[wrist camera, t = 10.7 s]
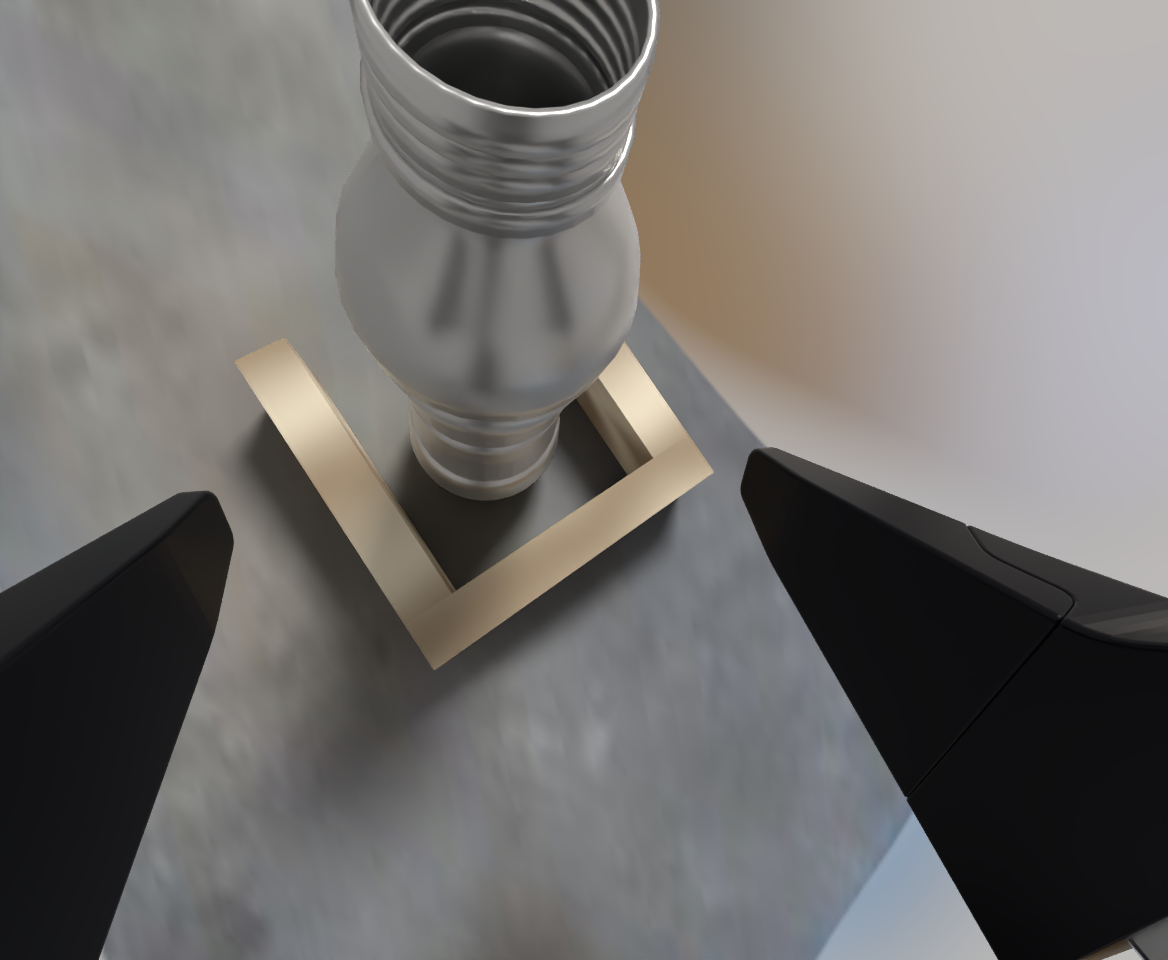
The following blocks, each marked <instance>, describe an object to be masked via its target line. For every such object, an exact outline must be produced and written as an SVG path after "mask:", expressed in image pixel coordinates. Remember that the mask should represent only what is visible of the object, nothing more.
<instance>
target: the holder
mask: <svg viewBox="0 0 1168 960" xmlns="http://www.w3.org/2000/svg"><path fill="white" fill-rule="evenodd" d="M234 362H235V363H236V365H237V366H238V368H239V369H240V371H241V373H242V374H243V376H244V377H245V379H246V380H247V382H248V383H249V385H250V387H251V388H252V390H253V391H254V393H255V394H256V396H257V397H258V399H259V400H260V402H261V404H262V405H263V407H264V408H265V410H266V411H267V413H268V414H269V416H270V417H271V419H272V421H273V422H274V424H275V425H276V427H277V428H278V430H279V431H280V433H281V435H282V436H283V438H284V439H285V441H286V442H287V444H288V445H289V447H290V448H291V450H292V452H293V453H294V455H295V456H296V458H297V459H298V461H299V462H300V464H301V466H302V467H303V469H304V470H305V472H306V473H307V475H308V476H309V478H310V479H311V481H312V483H313V484H314V486H315V487H316V489H317V490H318V492H319V493H320V495H321V496H322V498H323V500H324V501H325V503H326V504H327V506H328V507H329V509H330V510H331V512H332V514H333V515H334V517H335V518H336V520H337V521H338V523H339V524H340V526H341V527H342V529H343V531H344V532H345V534H346V535H347V537H348V538H349V540H350V541H351V543H352V544H353V546H354V548H355V549H356V551H357V552H358V554H359V555H360V557H361V558H362V560H363V562H364V563H365V565H366V566H367V568H368V569H369V571H370V572H371V574H372V575H373V577H374V579H375V580H376V582H377V583H378V585H379V586H380V588H381V589H382V591H383V593H384V594H385V596H386V597H387V599H388V600H389V602H390V603H391V605H392V606H393V608H394V610H395V611H396V613H397V614H398V616H399V617H400V619H401V620H402V622H403V623H404V625H405V627H406V628H407V630H408V631H409V633H410V634H411V636H412V637H413V639H414V641H415V642H416V644H417V645H418V647H419V648H420V650H421V651H422V653H423V654H424V656H425V658H426V659H427V661H428V662H429V664H430V665H431V667H432V668H433V670H436V669H437V668H439V667H440V666H442V665H443V664H444V663H446V662H447V661H449V660H450V659H451V658H453V657H454V656H456V655H457V654H458V653H460V652H461V651H463V650H464V649H465V648H467V647H468V646H470V645H471V644H472V643H474V642H475V641H477V640H478V639H480V638H481V637H482V636H484V635H485V634H487V633H488V632H489V631H491V630H492V629H494V628H495V627H496V626H498V625H499V624H501V623H502V622H503V621H505V620H506V619H508V618H509V617H511V616H512V615H513V614H515V613H516V612H518V611H519V610H520V609H522V608H523V607H525V606H526V605H527V604H529V603H530V602H532V601H533V600H534V599H536V598H537V597H539V596H540V595H542V594H543V593H544V592H546V591H547V590H549V589H550V588H551V587H553V586H554V585H556V584H557V583H558V582H560V581H561V580H563V579H564V578H565V577H567V576H568V575H570V574H571V573H572V572H574V571H575V570H577V569H578V568H580V567H581V566H582V565H584V564H585V563H587V562H588V561H589V560H591V559H592V558H594V557H595V556H596V555H598V554H599V553H601V552H602V551H603V550H605V549H606V548H608V547H609V546H611V545H612V544H613V543H615V542H616V541H618V540H619V539H620V538H622V537H623V536H625V535H626V534H627V533H629V532H630V531H632V530H633V529H634V528H636V527H637V526H639V525H640V524H642V523H643V522H644V521H646V520H647V519H649V518H650V517H651V516H653V515H654V514H656V513H657V512H658V511H660V510H661V509H663V508H664V507H665V506H667V505H668V504H670V503H671V502H672V501H674V500H675V499H677V498H678V497H680V496H681V495H682V494H684V493H685V492H687V491H688V490H689V489H691V488H692V487H694V486H695V485H696V484H698V483H699V482H701V481H702V480H703V479H705V478H706V477H708V476H709V475H711V474H712V473H713V472H714V471H713V470H712V469H711V467H710V466H709V464H708V463H707V461H706V460H705V458H704V457H703V455H702V454H701V453H700V451H699V450H698V448H697V447H696V445H695V444H694V442H693V441H692V439H691V438H690V437H689V435H688V434H687V432H686V431H685V429H684V428H683V426H682V425H681V423H680V422H679V421H678V419H677V418H676V416H675V415H674V413H673V412H672V410H671V409H670V407H669V406H668V405H667V403H666V402H665V400H664V399H663V397H662V396H661V394H660V393H659V391H658V390H657V389H656V387H655V386H654V384H653V383H652V381H651V380H650V378H649V377H648V375H647V374H646V373H645V371H644V370H643V368H642V367H641V365H640V364H639V362H638V361H637V359H636V358H635V357H634V355H633V354H632V352H631V351H630V349H629V348H628V346H627V345H626V343H625V342H624V343H623V345H622V346H621V348H620V350H619V352H618V354H617V355H616V357H615V358H614V359H613V360H612V361H611V362H610V364H609V365H608V366H607V367H606V369H605V370H604V371H603V372H602V373H601V374H600V376H599V377H598V378H597V379H596V380H595V381H594V382H593V384H592V385H591V386H590V387H589V388H588V389H587V390H586V391H584V392H583V393H582V394H580V395H579V396H578V397H577V398H576V400H577V401H578V403H579V404H580V406H581V407H582V409H583V410H584V412H585V413H586V415H587V416H588V418H589V419H590V421H591V422H592V424H593V425H594V426H595V428H596V429H597V431H598V432H599V434H600V435H601V437H602V438H603V440H604V441H605V443H606V444H607V446H608V447H609V449H610V450H611V452H612V453H613V454H614V456H615V457H616V459H617V460H618V462H619V463H620V465H621V466H622V468H623V469H624V471H625V472H626V474H627V475H628V476H626V477H625V478H623V479H622V480H620V481H619V482H617V483H616V484H614V485H613V486H611V487H610V488H608V489H607V490H605V491H604V492H602V493H601V494H599V495H598V496H596V497H595V498H593V499H592V500H590V501H589V502H587V503H586V504H584V505H583V506H582V507H580V508H579V509H577V510H576V511H574V512H573V513H571V514H570V515H568V516H567V517H565V518H564V519H562V520H561V521H559V522H558V523H556V524H555V525H553V526H552V527H550V528H549V529H547V530H546V531H544V532H543V533H541V534H540V535H538V536H537V537H535V538H534V539H532V540H531V541H529V542H528V543H526V544H525V545H523V546H522V547H521V548H519V549H518V550H516V551H515V552H513V553H512V554H510V555H509V556H507V557H506V558H504V559H503V560H501V561H500V562H498V563H497V564H495V565H494V566H492V567H491V568H489V569H488V570H486V571H485V572H483V573H482V574H480V575H479V576H477V577H476V578H474V579H473V580H471V581H470V582H468V583H467V584H465V585H464V586H462V587H461V588H460V589H458V590H457V591H456V590H455V588H454V587H453V585H452V584H451V582H450V581H449V579H448V578H447V576H446V574H445V573H444V571H443V570H442V568H441V567H440V565H439V564H438V562H437V561H436V559H435V558H434V556H433V555H432V553H431V551H430V550H429V548H428V547H427V545H426V544H425V542H424V541H423V539H422V538H421V536H420V535H419V533H418V532H417V530H416V529H415V527H414V525H413V524H412V522H411V521H410V519H409V518H408V516H407V515H406V513H405V512H404V510H403V509H402V507H401V506H400V504H399V503H398V501H397V499H396V498H395V496H394V495H393V493H392V492H391V490H390V489H389V487H388V486H387V484H386V483H385V481H384V480H383V478H382V476H381V475H380V473H379V472H378V470H377V469H376V467H375V466H374V464H373V463H372V461H371V460H370V458H369V457H368V455H367V454H366V452H365V450H364V449H363V447H362V446H361V444H360V443H359V441H358V440H357V438H356V437H355V435H354V434H353V432H352V431H351V429H350V427H349V426H348V424H347V423H346V421H345V420H344V418H343V417H342V415H341V414H340V412H339V411H338V409H337V408H336V406H335V405H334V403H333V401H332V400H331V398H330V397H329V395H328V394H327V392H326V391H325V389H324V388H323V386H322V385H321V383H320V382H319V380H318V378H317V377H316V375H315V374H314V373H313V372H312V371H311V369H310V368H309V367H308V366H307V364H306V363H305V362H304V361H303V359H302V358H301V357H300V356H299V355H298V353H297V352H296V351H295V350H294V348H293V347H292V346H291V345H290V344H289V342H288V341H287V340H286V339H285V337H284V338H282V339H280V340H277V341H275V342H273V343H271V344H269V345H267V346H265V347H263V348H261V349H258V350H256V351H254V352H252V353H250V354H248V355H246V356H244V357H242V358H240V359H237V360H235V361H234Z"/></svg>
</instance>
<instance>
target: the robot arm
mask: <svg viewBox="0 0 1168 960" xmlns="http://www.w3.org/2000/svg"><path fill="white" fill-rule="evenodd" d="M741 496H742V499H743V501H744V503H745V506H746V508H747V510H748V513H749V515H750V517H751V519H752V522H753V524H754V526H755V529H756V531H757V533H758V536H759V538H760V540H761V542H762V545H763V547H764V549H765V551H766V554H767V556H768V558H769V560H770V562H771V564H772V566H773V568H774V569H775V571H776V573H777V575H778V577H779V578H780V580H781V582H782V583H783V585H784V587H785V589H786V590H787V592H788V594H789V596H790V597H791V599H792V601H793V603H794V604H795V606H796V608H797V610H798V611H799V613H800V615H801V617H802V618H803V620H804V622H805V624H806V625H807V627H808V629H809V631H810V632H811V634H812V636H813V637H814V639H815V641H816V643H817V644H818V646H819V648H820V650H821V651H822V653H823V655H824V657H825V658H826V660H827V662H828V664H829V665H830V667H831V669H832V671H833V672H834V674H835V676H836V678H837V679H838V681H839V683H840V685H841V686H842V688H843V690H844V691H845V693H846V695H847V697H848V698H849V700H850V702H851V704H852V705H853V707H854V709H855V711H856V712H857V714H858V716H859V718H860V719H861V721H862V723H863V725H864V726H865V728H866V730H867V732H868V733H869V735H870V737H871V738H872V740H873V742H874V744H875V745H876V747H877V749H878V751H879V752H880V754H881V756H882V758H883V759H884V761H885V763H886V765H887V766H888V768H889V770H890V772H891V773H892V775H893V777H894V779H895V780H896V782H897V784H898V786H899V787H900V789H901V791H902V792H903V794H904V796H905V797H908V798H907V802H908V804H909V805H910V807H911V809H912V811H913V812H914V814H915V816H916V817H917V819H918V821H919V823H920V824H921V826H922V828H923V829H924V831H925V833H926V835H927V837H928V838H929V840H930V842H931V844H932V845H933V847H934V849H935V850H936V852H937V854H938V856H939V858H940V859H941V861H942V863H943V865H944V866H945V868H946V870H947V871H948V873H949V875H950V877H951V878H952V880H953V882H954V884H955V885H956V887H957V889H958V891H959V892H960V894H961V896H962V898H963V899H964V901H965V903H966V905H967V906H968V908H969V910H970V912H971V913H972V915H973V917H974V919H975V920H976V922H977V924H978V925H979V927H980V929H981V931H982V932H983V934H984V936H985V938H986V940H987V941H988V943H989V945H990V946H991V948H992V950H993V952H994V954H995V955H996V957H997V959H998V960H1102V959H1104V958H1107V957H1110V956H1113V955H1115V954H1118V953H1121V952H1124V951H1126V950H1129V949H1132V948H1133V949H1134V950H1135V951H1136V952H1137V954H1138V955H1139V956H1140V957H1141V958H1142V960H1168V598H1166V597H1163V596H1160V595H1158V594H1155V593H1152V592H1149V591H1146V590H1143V589H1141V588H1138V587H1135V586H1132V585H1129V584H1126V583H1123V582H1121V581H1118V580H1115V579H1112V578H1109V577H1106V576H1104V575H1101V574H1098V573H1095V572H1092V571H1090V570H1087V569H1084V568H1081V567H1078V566H1075V565H1073V564H1070V563H1067V562H1064V561H1061V560H1059V559H1056V558H1053V557H1051V556H1048V555H1045V554H1042V553H1040V552H1037V551H1034V550H1031V549H1029V548H1026V547H1023V546H1021V545H1018V544H1016V543H1013V542H1011V541H1008V540H1006V539H1003V538H1000V537H998V536H995V535H992V534H990V533H987V532H985V531H983V530H980V529H978V528H975V527H973V526H966V524H964V523H962V522H960V521H957V520H955V519H952V518H950V517H947V516H945V515H942V514H940V513H937V512H935V511H932V510H930V509H927V508H925V507H922V506H920V505H917V504H915V503H912V502H910V501H907V500H905V499H902V498H900V497H897V496H895V495H892V494H890V493H887V492H885V491H882V490H880V489H877V488H875V487H872V486H870V485H867V484H865V483H862V482H860V481H857V480H855V479H852V478H850V477H847V476H845V475H842V474H840V473H837V472H834V471H832V470H830V469H827V468H825V467H822V466H820V465H817V464H815V463H812V462H810V461H807V460H805V459H802V458H800V457H797V456H795V455H792V454H790V453H787V452H785V451H782V450H780V449H777V448H773V447H769V448H757V449H754V450H753V451H751V453H750V454H749V457H748V461H747V464H746V468H745V471H744V475H743V479H742V482H741ZM233 546H234V539H233V534H232V531H231V528H230V526H229V524H228V521H227V519H226V517H225V514H224V512H223V510H222V507H221V505H220V503H219V501H218V499H217V497H216V496H215V495H214V493H212V492H210V491H194V492H182V493H178V494H176V495H174V496H172V497H171V498H169V499H167V500H165V501H163V502H162V503H160V504H158V505H156V506H155V507H153V508H151V509H149V510H147V511H146V512H144V513H142V514H140V515H139V516H137V517H135V518H133V519H131V520H130V521H128V522H126V523H124V524H122V525H121V526H119V527H117V528H115V529H114V530H112V531H110V532H108V533H106V534H105V535H103V536H101V537H99V538H98V539H96V540H94V541H92V542H90V543H89V544H87V545H85V546H83V547H81V548H80V549H78V550H76V551H74V552H73V553H71V554H69V555H67V556H65V557H64V558H62V559H60V560H58V561H57V562H55V563H53V564H51V565H49V566H48V567H46V568H44V569H42V570H41V571H39V572H37V573H35V574H33V575H32V576H30V577H28V578H26V579H24V580H23V581H21V582H19V583H17V584H16V585H14V586H12V587H10V588H8V589H7V590H5V591H3V592H1V593H0V960H99V957H100V954H101V952H102V949H103V946H104V943H105V940H106V938H107V935H108V932H109V929H110V926H111V924H112V921H113V918H114V915H115V912H116V910H117V907H118V904H119V901H120V898H121V895H122V893H123V890H124V887H125V884H126V881H127V879H128V876H129V873H130V870H131V867H132V865H133V862H134V859H135V856H136V853H137V851H138V848H139V845H140V842H141V839H142V837H143V834H144V831H145V828H146V825H147V822H148V820H149V817H150V814H151V811H152V808H153V806H154V803H155V800H156V797H157V794H158V792H159V789H160V786H161V783H162V780H163V778H164V775H165V772H166V769H167V766H168V763H169V761H170V758H171V755H172V752H173V749H174V747H175V744H176V741H177V738H178V735H179V733H180V730H181V727H182V724H183V721H184V719H185V716H186V713H187V710H188V707H189V704H190V702H191V699H192V696H193V693H194V690H195V688H196V685H197V682H198V679H199V676H200V674H201V671H202V668H203V665H204V662H205V660H206V657H207V654H208V651H209V648H210V645H211V642H212V639H213V636H214V633H215V629H216V625H217V621H218V617H219V612H220V607H221V603H222V598H223V593H224V589H225V584H226V579H227V575H228V570H229V565H230V561H231V556H232V551H233Z"/></svg>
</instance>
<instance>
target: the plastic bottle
mask: <svg viewBox="0 0 1168 960" xmlns="http://www.w3.org/2000/svg"><path fill="white" fill-rule="evenodd" d="M349 2H350V7H351V11H352V15H353V21H354V25H355V30H356V34H357V39H358V43H359V48H360V53H361V61H360V90H361V94H362V98H363V103H364V107H365V111H366V116H367V120H368V124H369V128H370V132H371V138H370V139H369V141H368V143H367V144H366V146H365V147H364V149H363V151H362V152H361V154H360V155H359V157H358V159H357V160H356V162H355V164H354V166H353V168H352V170H351V172H350V174H349V176H348V178H347V180H346V182H345V184H344V186H343V188H342V193H341V197H340V201H339V205H338V210H337V214H336V231H335V275H336V280H337V284H338V289H339V293H340V298H341V302H342V304H343V306H344V309H345V311H346V313H347V315H348V317H349V319H350V322H351V324H352V326H353V328H354V330H355V332H356V333H357V335H358V336H359V337H360V339H361V340H362V342H363V344H364V345H365V347H366V348H367V350H368V351H369V352H370V354H371V355H372V356H373V358H374V359H375V360H376V362H377V363H378V364H379V366H380V367H381V369H382V370H383V371H384V372H385V373H386V374H387V375H388V376H389V377H390V378H391V379H392V380H393V381H394V382H395V383H396V384H397V385H398V387H399V388H400V389H401V390H402V391H403V392H404V393H405V394H406V395H407V396H408V398H409V400H410V408H409V435H410V439H411V444H412V448H413V451H414V453H415V455H416V457H417V460H418V462H419V464H420V465H421V466H422V468H423V469H424V470H425V472H426V473H427V474H428V476H429V477H430V478H432V479H433V480H434V481H435V482H436V483H437V484H438V485H439V486H441V487H443V488H444V489H446V490H448V491H449V492H451V493H453V494H455V495H458V496H461V497H464V498H467V499H473V500H480V501H487V500H499V499H503V498H506V497H510V496H513V495H515V494H517V493H519V492H521V491H523V490H525V489H526V488H528V487H529V486H530V485H532V484H533V483H534V482H535V481H537V480H538V478H539V477H540V476H541V475H542V474H543V473H544V471H545V470H546V469H547V467H548V465H549V463H550V462H551V460H552V458H553V455H554V452H555V449H556V446H557V442H558V433H559V425H560V416H559V414H560V413H561V411H562V410H563V409H564V408H565V407H566V406H567V405H568V404H570V403H571V402H572V401H573V400H574V399H576V398H577V397H578V396H579V395H580V394H582V393H583V392H584V391H586V390H587V389H588V388H589V387H590V386H591V385H592V384H593V382H594V381H595V380H596V379H597V378H598V377H599V376H600V374H601V373H602V372H603V371H604V370H605V369H606V367H607V366H608V365H609V364H610V362H611V361H612V360H613V359H614V358H615V357H616V355H617V354H618V352H619V350H620V348H621V346H622V345H623V343H624V341H625V339H626V337H627V336H628V334H629V331H630V328H631V325H632V321H633V318H634V315H635V311H636V308H637V298H638V286H639V273H640V272H639V271H640V257H641V256H640V247H639V238H638V230H637V227H636V224H635V221H634V217H633V214H632V211H631V208H630V205H629V202H628V199H627V197H626V194H625V191H624V189H623V186H622V184H621V181H620V180H621V177H622V174H623V171H624V168H625V165H626V163H627V159H628V157H629V154H630V151H631V148H632V145H633V142H634V139H635V129H636V119H637V115H636V111H637V108H638V105H639V102H640V99H641V96H642V93H643V90H644V88H645V85H646V82H647V79H648V76H649V73H650V70H651V67H652V64H653V61H654V58H655V52H656V42H657V40H658V33H659V21H660V10H659V2H658V0H349Z"/></svg>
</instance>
